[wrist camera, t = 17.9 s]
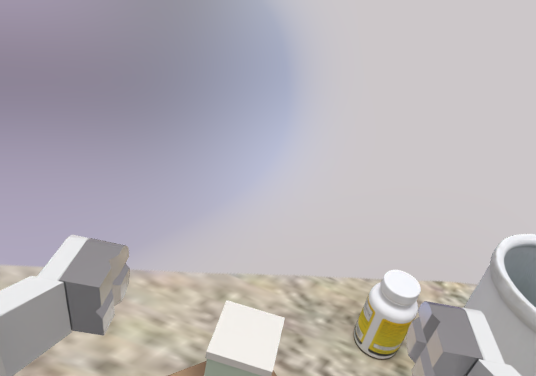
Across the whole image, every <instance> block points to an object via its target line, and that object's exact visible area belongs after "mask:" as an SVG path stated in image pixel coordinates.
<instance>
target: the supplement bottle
mask: <svg viewBox="0 0 536 376" xmlns="http://www.w3.org/2000/svg"><path fill="white" fill-rule="evenodd" d="M420 291H421V288H420V285H419V283H418V281H417V280H416V279H415V278H414V277H412V276H411V275H410V274H408V273H406V272H404V271H400V270H391V271H388V272H387V273H386V274H385V275H384V277H383V279H382V281H381V283H378V284H376V285H375V286H374V287H373V288H372V289H371V291H370V293H369V295H368V297H367V300H366V302H365V304H364V307H363V309H362V312H361V314H360V316H359V319H358V321H357V324H356V326H355V329H354V337H355V341H356V343H357V344H358V346H359V347H360V348H361V349H362V350H363V351H364V352H365V353H367V354H368V355H370V356H372V357H375V358H379V359H386V358H390V357H392V356H393V355H394V354H395V353H396V352H397V350H398V349H399V347H400V345H401V343H402V341H403V340H404V338H405V336H406V334H407V332H408V328H409V326H410V324H411V322H412V321H413V320H414V319H415V317H416V314H417V311H418V305H417V301H416V300H417V298H418V296H419V294H420Z"/></svg>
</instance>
